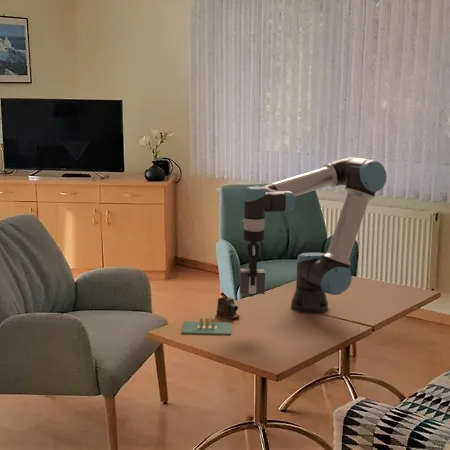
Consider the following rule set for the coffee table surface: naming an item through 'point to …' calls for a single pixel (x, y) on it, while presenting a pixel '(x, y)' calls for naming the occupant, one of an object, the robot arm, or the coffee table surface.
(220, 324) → the header board
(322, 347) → the coffee table surface
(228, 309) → the electronic device
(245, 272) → the block
